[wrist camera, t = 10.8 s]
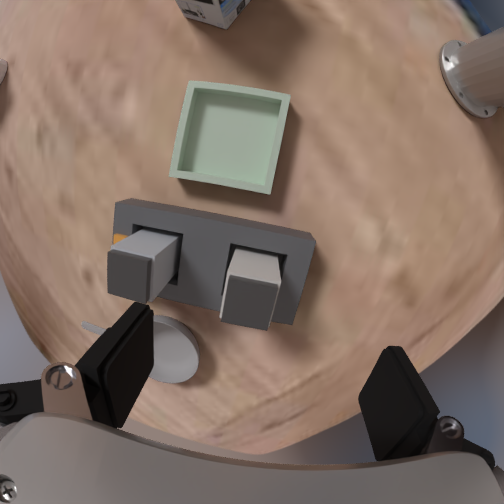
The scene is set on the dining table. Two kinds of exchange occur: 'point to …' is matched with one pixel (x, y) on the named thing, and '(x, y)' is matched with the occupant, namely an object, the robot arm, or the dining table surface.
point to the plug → (251, 288)
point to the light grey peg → (143, 264)
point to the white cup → (2, 69)
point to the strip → (219, 252)
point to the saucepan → (168, 350)
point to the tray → (229, 135)
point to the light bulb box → (213, 10)
